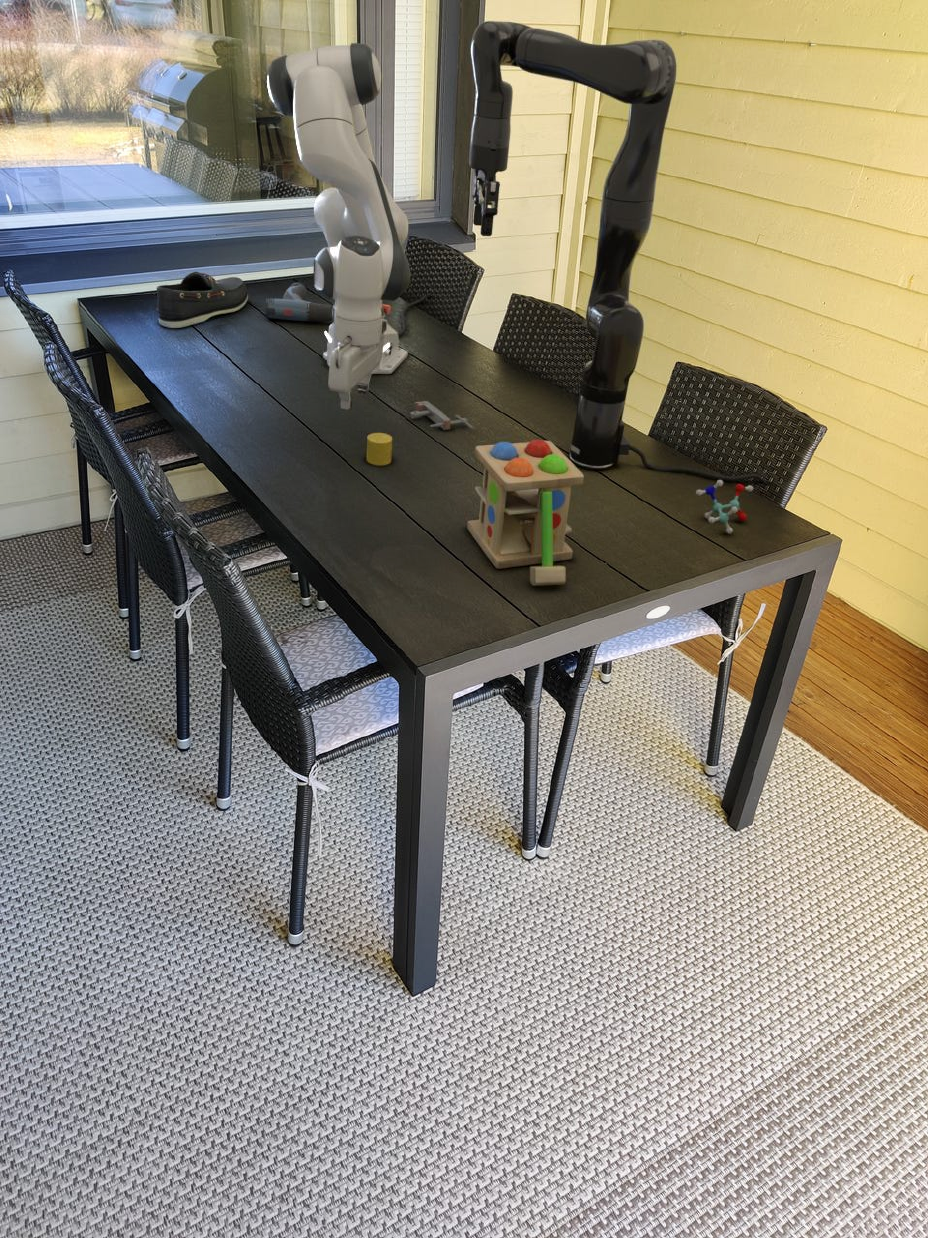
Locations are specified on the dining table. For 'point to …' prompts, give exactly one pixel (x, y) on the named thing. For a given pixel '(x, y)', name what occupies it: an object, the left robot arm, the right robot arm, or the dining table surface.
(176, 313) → the boat shoe
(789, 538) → the dining table surface
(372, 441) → the yellow cylinder
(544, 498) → the pounding bench toy
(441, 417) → the clamp
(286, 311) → the power drill
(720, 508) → the molecular model
